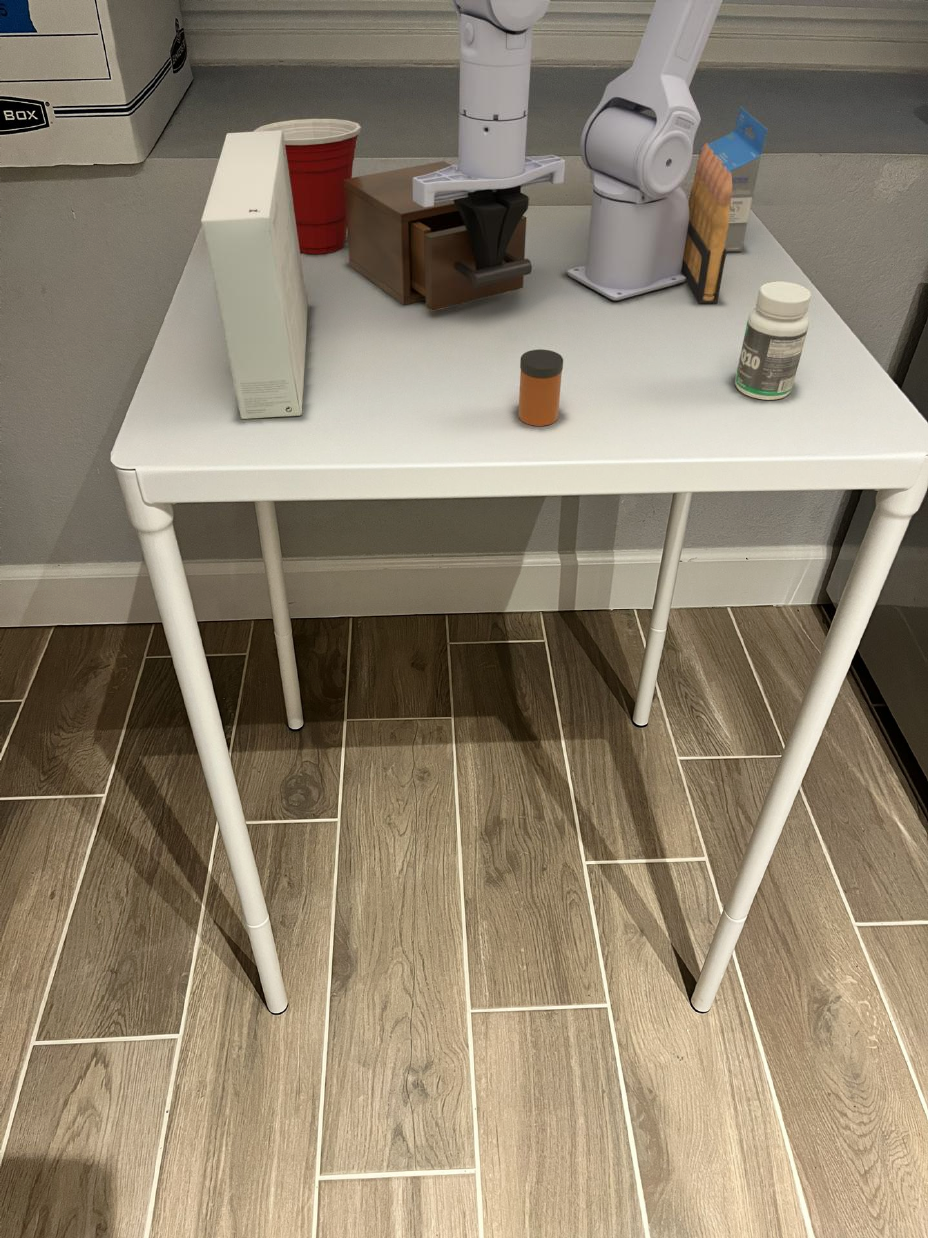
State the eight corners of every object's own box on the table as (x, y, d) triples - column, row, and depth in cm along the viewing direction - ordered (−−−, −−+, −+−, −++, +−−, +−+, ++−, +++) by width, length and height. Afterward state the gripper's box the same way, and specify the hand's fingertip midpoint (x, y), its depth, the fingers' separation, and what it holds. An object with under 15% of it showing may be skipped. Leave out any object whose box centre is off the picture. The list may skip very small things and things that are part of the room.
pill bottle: (729, 374, 83) (749, 277, 78) (784, 375, 83) (808, 279, 78) (739, 401, 80) (761, 302, 74) (797, 402, 80) (823, 303, 74)
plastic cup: (349, 220, 110) (341, 105, 103) (381, 253, 103) (375, 132, 95) (256, 234, 107) (240, 116, 99) (283, 268, 100) (268, 144, 92)
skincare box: (251, 309, 92) (225, 129, 82) (308, 307, 93) (290, 128, 82) (232, 421, 77) (198, 216, 66) (301, 418, 77) (278, 214, 66)
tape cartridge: (686, 224, 110) (705, 105, 102) (719, 223, 111) (740, 105, 103) (709, 253, 104) (731, 129, 96) (744, 252, 104) (769, 128, 96)
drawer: (548, 303, 92) (554, 231, 87) (456, 328, 87) (456, 253, 83) (466, 253, 101) (466, 185, 97) (379, 273, 97) (375, 203, 92)
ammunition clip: (717, 303, 94) (742, 174, 86) (698, 304, 94) (721, 174, 86) (693, 261, 102) (713, 139, 94) (676, 261, 102) (695, 139, 94)
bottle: (542, 402, 79) (546, 345, 76) (566, 419, 77) (572, 361, 74) (509, 412, 78) (512, 355, 75) (533, 430, 76) (536, 372, 73)
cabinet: (503, 280, 98) (506, 192, 92) (403, 305, 93) (400, 213, 88) (444, 244, 105) (443, 160, 100) (349, 265, 101) (343, 178, 95)
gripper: (537, 92, 85) (526, 246, 94) (393, 110, 79) (397, 273, 88) (585, 110, 81) (569, 270, 90) (437, 131, 75) (436, 300, 84)
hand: (486, 274), depth 89 cm, fingers closed, pressing on drawer
